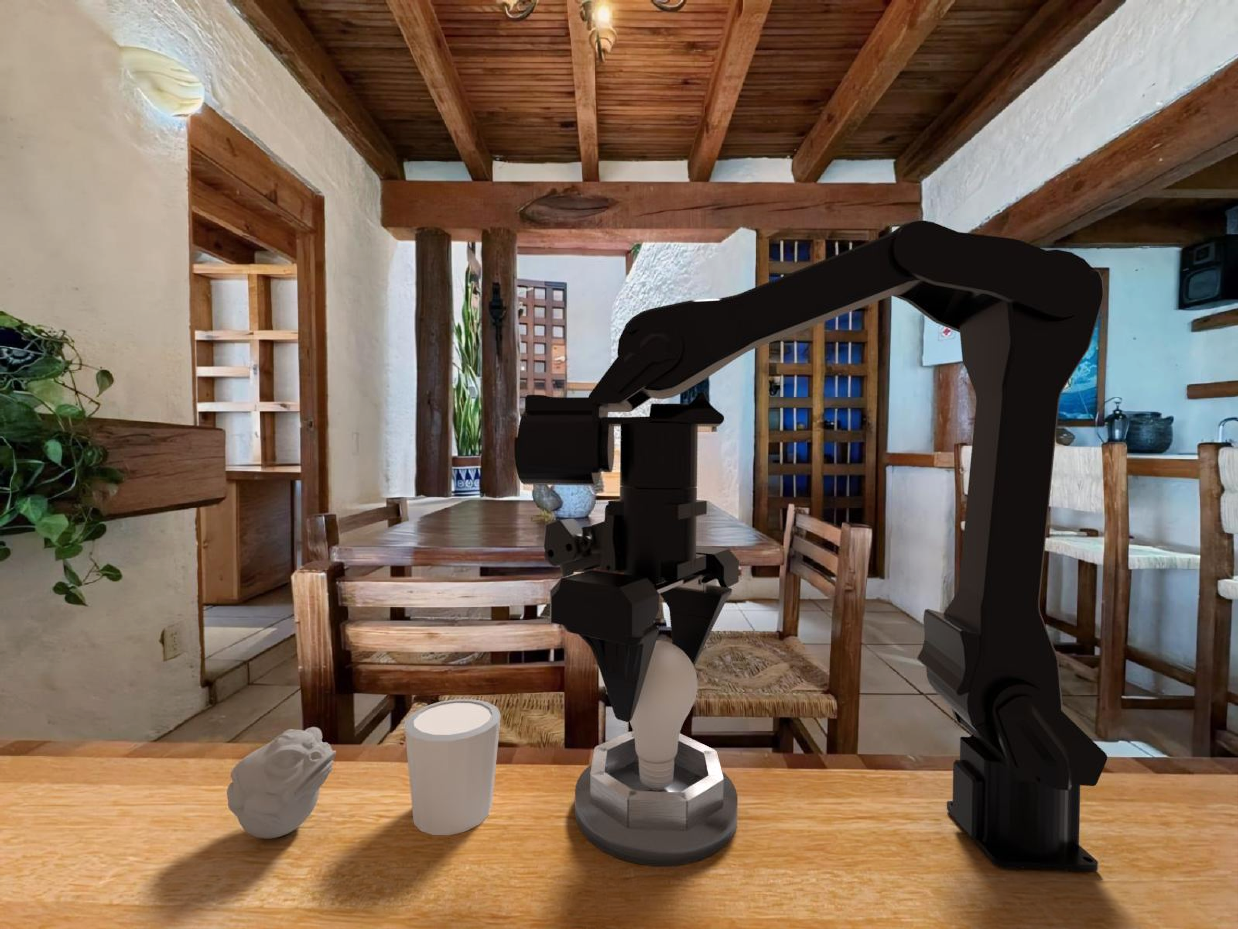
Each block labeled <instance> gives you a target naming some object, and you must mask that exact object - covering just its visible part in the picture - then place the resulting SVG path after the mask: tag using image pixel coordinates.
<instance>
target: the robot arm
mask: <svg viewBox="0 0 1238 929" xmlns="http://www.w3.org/2000/svg"><path fill="white" fill-rule="evenodd" d="M890 297H894V298H897V299H899V300H901V301H905V302H907V303H908V304H909V305H910V306H912V307H913V308H915V310H916V311H917V310H918V312H921V314H923V316H926V317H927V318H928V319H930V320H931V321H932V322H933V323H935V324H938V325H940V326H942V327H945V328H947V329H950V330H952V331H954V332H957V333H959V336H960V339H959V340H960V349H961V360H962V362H963V366H964V368H965V371H966V372H967V375H968V378H969V380H970V384H971V385H972V387H973V390H974V393H975V401H976V402H975V412H974V420H973V421H974V422H973V423H974V424H973V432H972V433H973V434H972V441H971V442H972V443H971V445H972V446H971V454H970V466H969V474H968V486H967V496H966V497H967V498H966V505H965V514H964V515H965V516H964V525H963V526H964V528H963V538H962V539H963V540H962V548H961V550H962V551H961V559H960V569H959V570H960V571H959V579H958V587H957V590H956V593H955V595H954V597H953V598H952V600H951V601H950V603H949V605H948V606H947V607H946V609H945V611H944V612H940V611H936V610H934V609H933V610H932V609H930V608H926V609H925V610H924V611H923V619H922V620H923V630H924V640H923V645H922V648H921V650H920V651H919V654H918V655H917V657H916V658H917V661H919V662H920V663H921V664H922V665H923V666H924V667H925V668H926V677H927V680H928V683H929V685H930V686H931V687H932V689H933V691H935V693H936V694H937V695H938V696H939V697H940V699H942V701H943V702H945V703H946V704H947V705H948V706H949V707H950V709H951V711H952V715H953V718H954V720H956V722H958V723H959V724H961V725H962V726H963V727H964V728H965V729H967V731H968V732H970V733H971V735H970V736H960V737H959V759H955V760H953V763H952V766H953V767H952V800H948V801H946V809H947V810H946V811H948V812H949V814H950V815H951V816H952V817H953V818H954V820H955V821H957V823H958V824H959V826H960V827H962V829H963V830H964V831H965V832H966V833H967V835H969V837H970V838H971V839H972V840H973V842H975V844H976V845H978V847H979V848H980V850H982V852H983V853H984V854H985V855H986V856H987V857H988V859H989V860H990V861H991V862H992V863H993V864H994V865H995V866H997V867H999V868H1003V869H1020V870H1021V869H1023V870H1024V869H1025V870H1027V869H1029V870H1047V871H1048V870H1054V871H1055V870H1056V871H1076V872H1077V871H1081V872H1097V871H1098V870H1099V863H1098V860H1097V859H1095V857H1094V856H1092V854H1090V853H1089V852H1088V851H1087V850H1086V849H1085V848H1083V846H1081V845H1080V823H1081V822H1080V820H1081V817H1080V816H1081V786H1083V787H1084V786H1086V787H1087V786H1088V787H1095V786H1097V785H1098V782H1099V780H1100V777H1101V775H1102V772H1103V771H1104V767H1105V766H1106V763H1107V761H1108V755H1107V753H1106V752H1105V751H1104V749H1102V748H1101V747H1100V746H1099V745H1098V744H1097V743H1096V742H1094V740H1093V739H1092V738H1090V737H1089V735H1087V734H1086V733H1085V731H1083V730H1082V729H1081V728H1080V727H1079V726H1078V725H1077V724H1076V723H1075V722H1074V721H1073V720H1072V719H1071V718H1070V717H1069V716H1068V715H1067V714H1066V713H1065V712H1064V711H1063V707H1064V706H1063V704H1064V703H1063V696H1062V684H1061V683H1062V682H1061V673H1060V671H1061V670H1060V662H1059V658H1058V655H1057V653H1056V650H1055V647H1054V644H1053V642H1052V639H1051V637H1050V634H1049V632H1048V629H1047V626H1046V624H1045V621H1044V618H1043V615H1042V613H1041V605H1040V604H1041V602H1040V601H1041V593H1042V592H1041V590H1042V584H1043V583H1042V582H1043V580H1042V579H1043V572H1044V570H1043V569H1044V561H1045V549H1046V540H1047V531H1048V523H1049V522H1048V521H1049V520H1048V519H1049V512H1050V511H1049V509H1050V502H1051V500H1050V498H1051V491H1052V479H1053V469H1054V468H1053V467H1054V459H1055V448H1056V440H1057V439H1056V438H1057V429H1058V419H1059V418H1058V417H1059V408H1060V399H1061V396H1062V393H1063V391H1064V389H1065V387H1066V386H1067V384H1068V383H1069V381H1070V379H1071V378H1072V376H1073V375H1074V373H1075V372H1076V370H1077V368H1078V366H1079V365H1080V364H1081V362H1082V360H1083V358H1084V357H1085V355H1086V354H1087V352H1088V351H1089V349H1090V347H1091V343H1092V341H1093V337H1094V335H1095V334H1094V333H1095V330H1096V327H1097V325H1098V321H1099V320H1098V319H1099V317H1100V314H1101V310H1102V307H1103V302H1104V299H1105V288H1104V280H1103V277H1102V274H1101V272H1100V270H1098V269H1096V268H1093V267H1092V265H1090V263H1088V262H1087V261H1086V260H1085V258H1083V257H1081V256H1079V255H1077V254H1075V253H1074V252H1072V251H1067V250H1062V249H1058V248H1057V249H1048V250H1047V249H1045V248H1041V247H1038V246H1036V245H1034V244H1030V243H1028V242H1025V241H1022V240H1020V239H1016V238H1011V237H1009V238H1008V237H1002V236H994V235H985V234H980V233H979V234H977V233H971V232H970V233H968V232H961V231H956V230H954V229H952V228H949V227H946V226H944V225H941V224H939V223H936V222H933V221H929V220H924V219H922V220H915V221H909V222H905V223H903V224H901V225H899V226H898V227H897V228H896V229H895V230H893V231H892V232H890V233H887V234H885V235H883V236H881V237H878V238H876V239H873V240H871V241H867V242H865V243H863V244H860V245H857V246H855V247H853V248H850V249H848V250H846V251H844V252H840V253H837V254H836V255H833V256H831V257H828V258H826V259H823V260H821V261H818V262H815V263H813V264H811V265H808V266H805V267H803V268H800V269H798V270H796V271H793V272H790V273H788V274H785V275H783V276H780V277H777V278H776V279H773V280H770V281H768V282H766V283H763V284H761V285H758V286H756V287H753V288H750V289H747V290H745V291H743V292H740V293H738V294H733V295H730V296H725V297H720V298H704V299H692V300H691V299H690V300H685V301H680V302H676V303H671V304H667V305H662V306H659V307H654V308H649V309H645V310H643V311H640V312H639V313H638V314H635V315H634V316H632V317H631V318H630V319H629V320H628V321H627V322H626V324H625V325H624V327H623V329H622V332H621V335H620V336H619V339H618V344H617V350H616V352H617V357H616V358H615V359H614V361H613V362H612V364H611V365H610V366H609V368H608V369H607V371H606V372H605V373H604V374H603V375H602V377H601V378H600V379H599V381H597V384H596V385H595V386H594V388H593V389H592V390H591V392H590V393H589V394H588V397H584V396H581V397H580V396H579V397H578V396H577V397H576V396H574V397H573V396H572V397H570V396H569V397H568V396H567V397H565V396H562V397H554V396H548V395H544V394H527V395H526V396H525V398H524V411H523V412H522V414H521V417H520V420H519V425H518V428H517V430H518V431H517V436H515V437H514V439H513V440H514V441H513V442H514V443H513V444H514V447H513V449H514V452H513V453H514V463H515V469H516V473H517V477H518V479H519V481H520V483H521V484H523V485H525V486H527V485H530V486H531V485H534V486H535V485H537V486H538V485H539V486H542V485H543V486H544V485H545V486H588V487H589V486H591V487H593V486H595V487H597V486H598V484H599V482H600V480H601V474H602V473H612V472H613V469H614V462H615V461H614V460H615V427H620V440H619V441H620V444H619V445H620V447H619V448H620V449H619V450H620V451H619V452H620V453H619V454H620V456H619V457H620V458H619V460H620V461H619V463H620V464H619V465H620V466H619V468H620V469H619V485H620V486H619V499H613V500H607V502H608V503H607V504H606V505H605V508H604V520H603V521H600V522H597V523H595V524H591V525H585V526H581V525H580V524H579V523H578V522H577V520H576V519H574V518H567V519H559V520H557V521H554V522H551V523H548V524H546V525H545V531H544V533H545V534H544V541H543V544H544V545H543V549H544V558H545V560H546V561H547V562H548V564H549V565H551V566H552V567H558V566H559V569H560V573H561V576H562V577H561V578H560V579H559V580H558V582H557V583H556V584H554V586H553V587H552V588H551V589H550V590H549V620H550V623H551V624H557V625H560V626H563V628H564V629H565V630H566V632H568V633H570V634H574V635H579V637H581V638H580V639H582V640H583V641H584V642H585V643H586V644H587V645H588V647H590V650H591V651H592V654H593V656H594V658H595V661H596V665H597V666H598V669H599V671H600V675H601V678H602V681H603V684H604V687H605V690H606V694H607V696H608V699H609V702H610V706H611V708H612V711H613V714H614V718H616V720H619V721H620V722H621V721H622V722H625V723H630V720H631V719H632V717H633V714H634V712H635V709H636V706H637V703H638V700H639V697H640V693H641V690H642V687H643V683H644V680H645V677H646V673H647V670H648V666H649V663H650V660H651V656H652V654H653V650H654V647H655V643H656V640H658V636H659V632H660V629H661V628H660V626H654V623H655V621H656V618H657V616H658V614H659V611H660V597H661V598H662V599H663V601H664V602H665V604H666V605H667V607H668V610H669V618H670V619H669V620H670V621H669V622H670V632H671V644H673V645H675V646H677V647H678V648H680V649H681V650H682V651H683V652H684V653H685V654H686V655H687V656H688V657H689V659H690V660H691V662H692V664H693V666H694V668H695V666H696V664H697V662H698V660H699V658H700V655H701V653H702V651H703V649H704V648H705V645H706V643H707V640H708V638H709V636H710V634H711V632H712V630H713V628H714V626H715V623H716V622H717V620H718V617H719V616H720V614H721V612H722V610H723V608H724V607H725V604H726V602H727V600H728V598H729V597H730V596H731V595H732V593H733V589H732V588H731V586H734V585H736V584H737V583H739V582H740V580H739V578H740V577H739V576H740V573H739V572H740V571H739V570H740V560H739V559H738V557H737V556H736V555H735V554H734V553H733V552H732V551H731V549H730V548H723V547H714V546H713V547H712V546H703V545H697V527H698V525H697V522H698V521H697V518H698V517H699V516H703V515H707V512H708V511H707V509H708V508H707V506H708V500H699V499H698V488H697V487H698V449H699V448H698V442H699V441H698V440H699V439H698V438H699V437H698V435H699V434H698V432H699V431H698V430H699V429H698V428H701V427H702V428H703V427H704V428H705V427H708V428H709V427H710V428H711V427H715V428H716V427H720V426H721V425H722V424H723V423H724V421H725V416H724V414H723V413H721V411H718V409H716V408H715V407H714V406H713V405H712V404H711V403H710V401H709V400H708V398H707V396H706V394H705V392H698V393H697V395H696V396H695V397H694V399H693V400H692V401H691V402H689V403H651V404H650V408H649V416H646V415H645V416H609V413H631V412H633V411H634V410H636V409H637V408H639V407H640V406H642V405H643V404H645V403H646V402H648V401H649V400H650V399H655V400H666V399H671V398H675V397H676V396H678V395H681V394H682V393H684V392H686V391H687V390H689V389H691V388H692V387H694V386H696V385H697V384H700V383H701V382H703V381H704V380H706V379H707V378H709V377H711V376H712V375H714V374H715V373H717V372H718V371H720V370H721V369H723V368H724V367H726V366H727V365H729V364H730V363H731V362H733V361H734V360H736V359H738V358H740V357H741V356H742V355H745V354H746V353H748V352H750V351H752V350H755V349H757V348H760V347H762V346H765V345H767V344H770V343H772V342H773V343H774V342H775V341H778V340H781V339H783V338H786V337H788V336H790V335H793V334H796V333H798V332H799V333H800V332H802V331H804V330H807V329H810V328H812V327H814V326H817V325H819V324H822V323H824V322H827V321H829V320H832V319H835V318H837V317H840V316H843V315H846V314H849V313H850V312H853V311H856V310H858V309H860V308H863V307H866V306H868V305H871V304H874V303H876V302H878V301H881V300H884V299H886V298H890ZM598 568H600V571H599V570H594V569H598ZM579 571H582V572H580V573H575V572H579ZM616 572H618V573H616ZM574 573H575V574H574ZM717 583H718V585H717Z"/></svg>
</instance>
